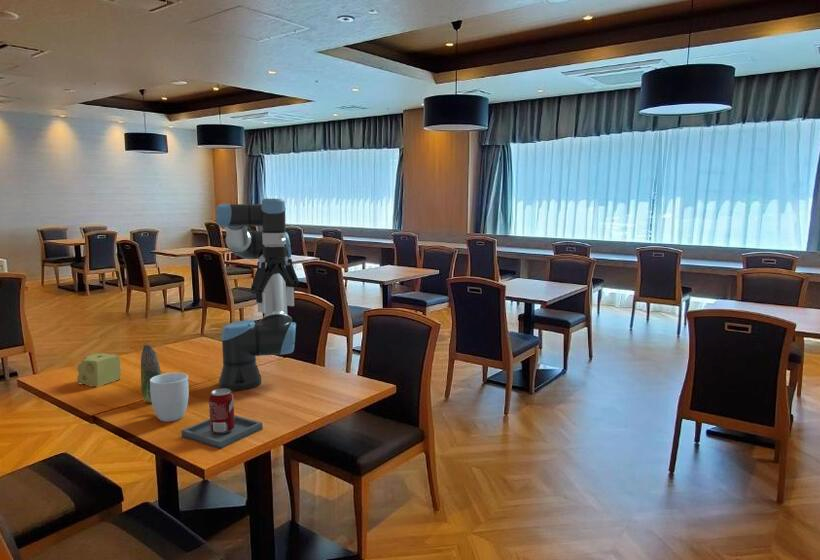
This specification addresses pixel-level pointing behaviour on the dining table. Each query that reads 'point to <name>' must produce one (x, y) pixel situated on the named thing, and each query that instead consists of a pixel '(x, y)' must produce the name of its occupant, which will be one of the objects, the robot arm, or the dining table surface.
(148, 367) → the vegetable
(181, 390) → the mug
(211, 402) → the soda can
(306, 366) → the dining table surface
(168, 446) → the dining table surface
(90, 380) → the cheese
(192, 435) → the tray
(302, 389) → the dining table surface
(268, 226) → the robot arm
